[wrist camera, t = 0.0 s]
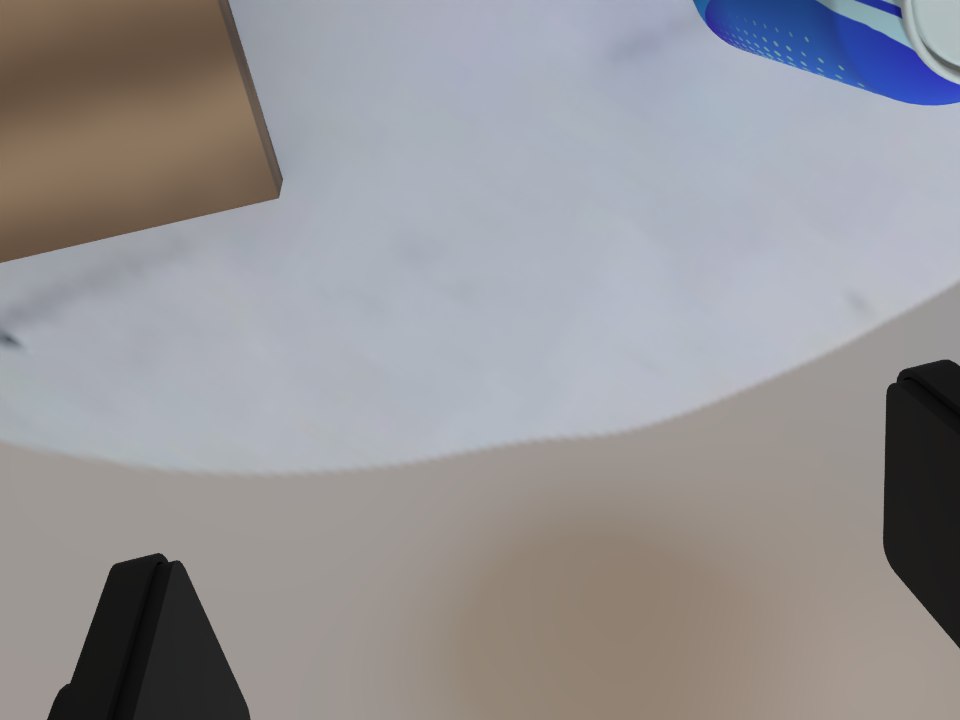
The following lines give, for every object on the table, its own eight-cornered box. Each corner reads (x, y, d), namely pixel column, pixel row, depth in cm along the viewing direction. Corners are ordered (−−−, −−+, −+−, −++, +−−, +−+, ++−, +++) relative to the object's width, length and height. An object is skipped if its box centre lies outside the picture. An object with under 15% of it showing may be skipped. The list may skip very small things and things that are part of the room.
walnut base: (-198, -98, 33) (-245, -99, 30) (173, -178, 34) (159, -186, 31) (-27, 251, 39) (-53, 275, 37) (282, 179, 40) (278, 198, 37)
